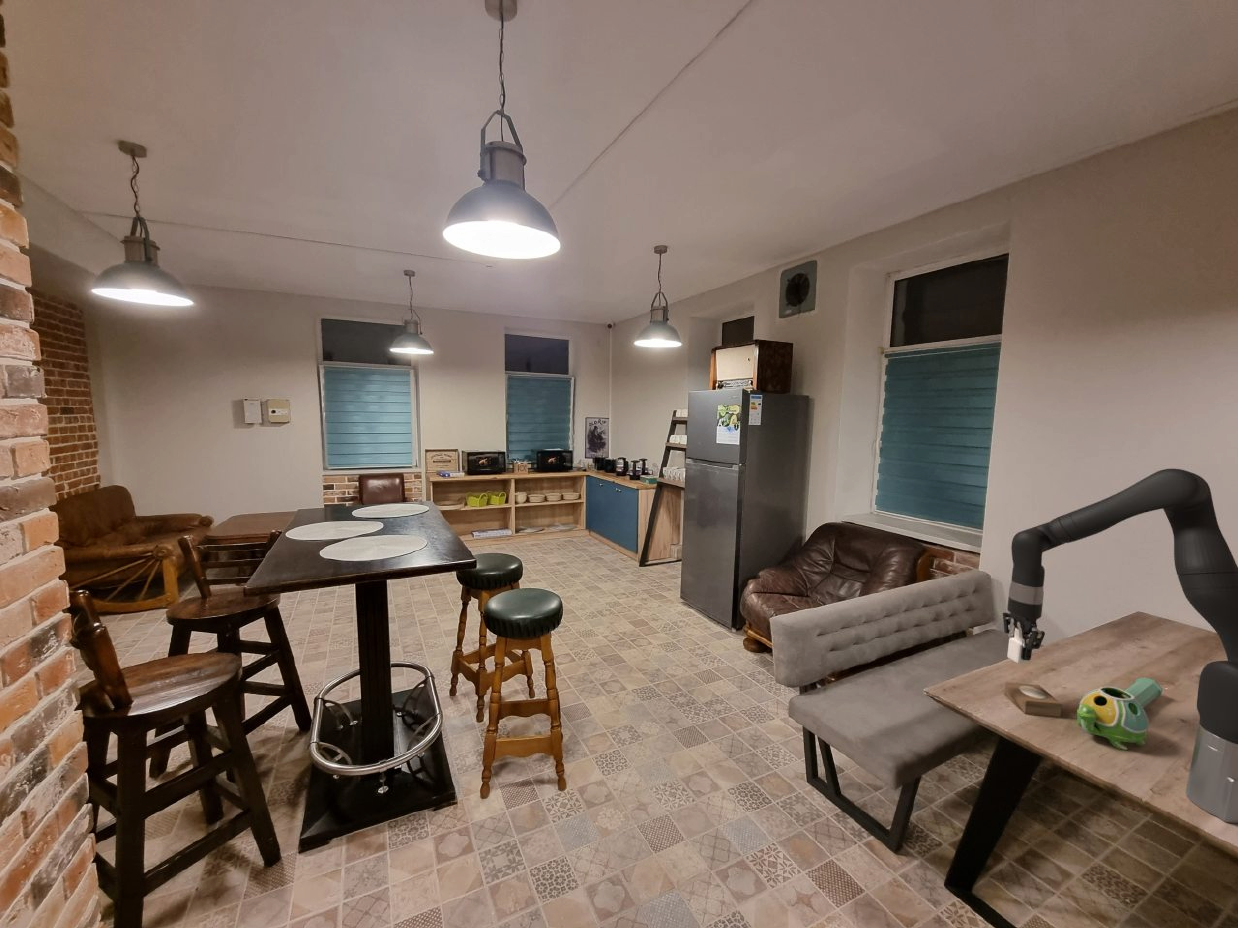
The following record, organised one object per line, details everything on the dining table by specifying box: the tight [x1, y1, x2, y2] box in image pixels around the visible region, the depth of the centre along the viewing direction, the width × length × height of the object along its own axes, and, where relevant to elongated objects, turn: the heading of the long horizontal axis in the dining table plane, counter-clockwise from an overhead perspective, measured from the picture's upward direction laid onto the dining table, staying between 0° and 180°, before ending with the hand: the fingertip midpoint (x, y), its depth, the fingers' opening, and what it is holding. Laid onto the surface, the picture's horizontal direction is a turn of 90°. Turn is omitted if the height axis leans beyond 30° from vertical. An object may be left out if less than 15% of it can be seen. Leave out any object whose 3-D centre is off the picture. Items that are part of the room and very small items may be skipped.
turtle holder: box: [1076, 686, 1149, 751], centre depth 128 cm, size 12×18×12 cm
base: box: [1003, 681, 1063, 718], centre depth 141 cm, size 9×9×4 cm
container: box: [1122, 676, 1163, 709], centre depth 141 cm, size 6×6×25 cm
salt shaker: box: [1006, 628, 1032, 665], centre depth 141 cm, size 4×4×10 cm
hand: (1019, 654), depth 141 cm, fingers closed on salt shaker, 4 cm apart
